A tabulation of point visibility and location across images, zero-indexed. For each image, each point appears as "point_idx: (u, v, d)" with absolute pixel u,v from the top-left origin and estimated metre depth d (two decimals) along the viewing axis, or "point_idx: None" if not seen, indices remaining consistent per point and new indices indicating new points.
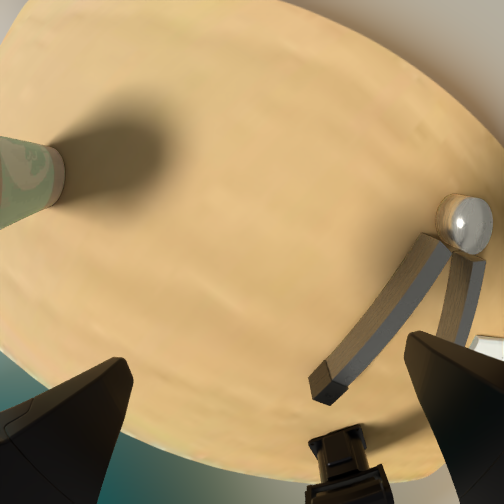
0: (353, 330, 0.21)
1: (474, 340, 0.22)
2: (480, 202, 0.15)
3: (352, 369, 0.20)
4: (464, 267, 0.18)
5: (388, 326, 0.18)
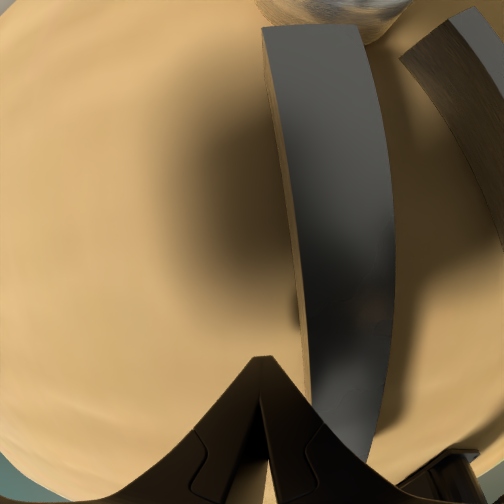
0: (305, 390, 0.09)
1: None
2: None
3: None
4: (448, 58, 0.04)
5: (342, 385, 0.05)
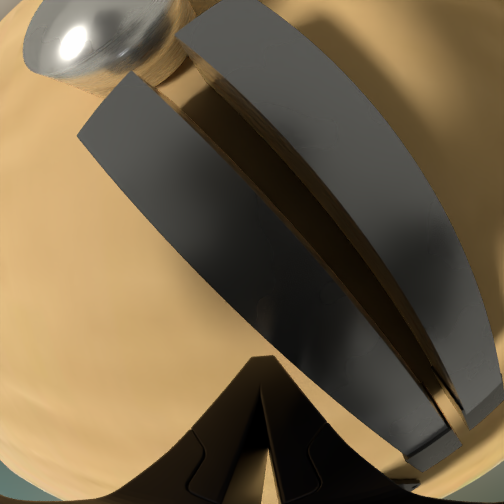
0: None
1: None
2: (42, 7, 0.03)
3: (410, 428, 0.06)
4: (208, 73, 0.05)
5: (335, 361, 0.06)
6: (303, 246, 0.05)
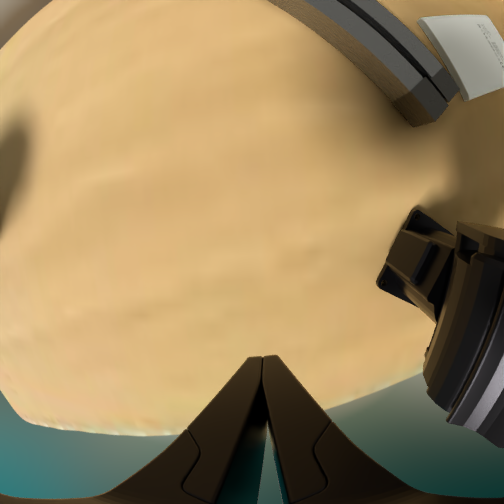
0: (354, 62, 0.15)
1: (421, 25, 0.13)
2: None
3: (397, 64, 0.12)
4: None
5: (343, 18, 0.12)
6: None
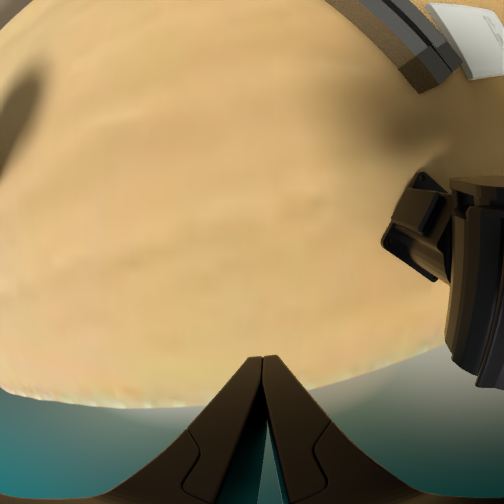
0: (364, 30, 0.14)
1: (428, 9, 0.13)
2: None
3: (403, 32, 0.11)
4: None
5: None
6: None
